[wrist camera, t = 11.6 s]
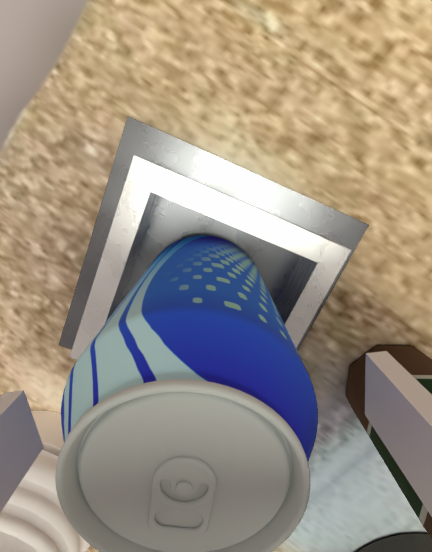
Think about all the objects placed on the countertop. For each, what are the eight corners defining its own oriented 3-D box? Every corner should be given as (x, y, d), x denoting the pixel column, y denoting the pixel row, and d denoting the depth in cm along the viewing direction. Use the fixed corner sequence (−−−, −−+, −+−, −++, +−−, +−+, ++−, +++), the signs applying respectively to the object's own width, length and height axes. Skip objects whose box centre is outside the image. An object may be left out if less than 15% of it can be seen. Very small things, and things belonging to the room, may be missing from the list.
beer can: (125, 283, 23) (-52, 485, 8) (207, 207, 21) (189, 273, 6) (201, 355, 25) (179, 634, 10) (282, 291, 23) (411, 502, 8)
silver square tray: (259, 407, 28) (267, 449, 23) (64, 338, 25) (33, 370, 21) (362, 222, 23) (396, 232, 18) (131, 119, 21) (110, 102, 16)
